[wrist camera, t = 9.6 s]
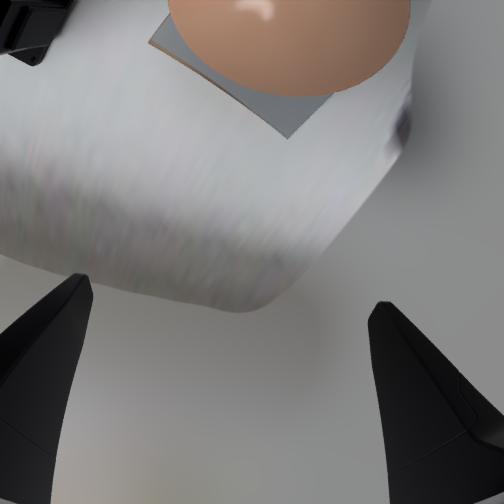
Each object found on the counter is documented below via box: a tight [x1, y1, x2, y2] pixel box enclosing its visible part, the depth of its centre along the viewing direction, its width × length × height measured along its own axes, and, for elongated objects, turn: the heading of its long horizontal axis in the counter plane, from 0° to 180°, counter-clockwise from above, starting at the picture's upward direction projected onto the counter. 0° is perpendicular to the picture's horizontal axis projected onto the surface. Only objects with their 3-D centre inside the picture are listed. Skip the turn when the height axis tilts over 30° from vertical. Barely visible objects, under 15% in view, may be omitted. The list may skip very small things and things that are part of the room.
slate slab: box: [151, 15, 334, 139], centre depth 10 cm, size 6×6×4 cm
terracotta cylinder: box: [168, 0, 410, 97], centre depth 6 cm, size 5×5×5 cm
